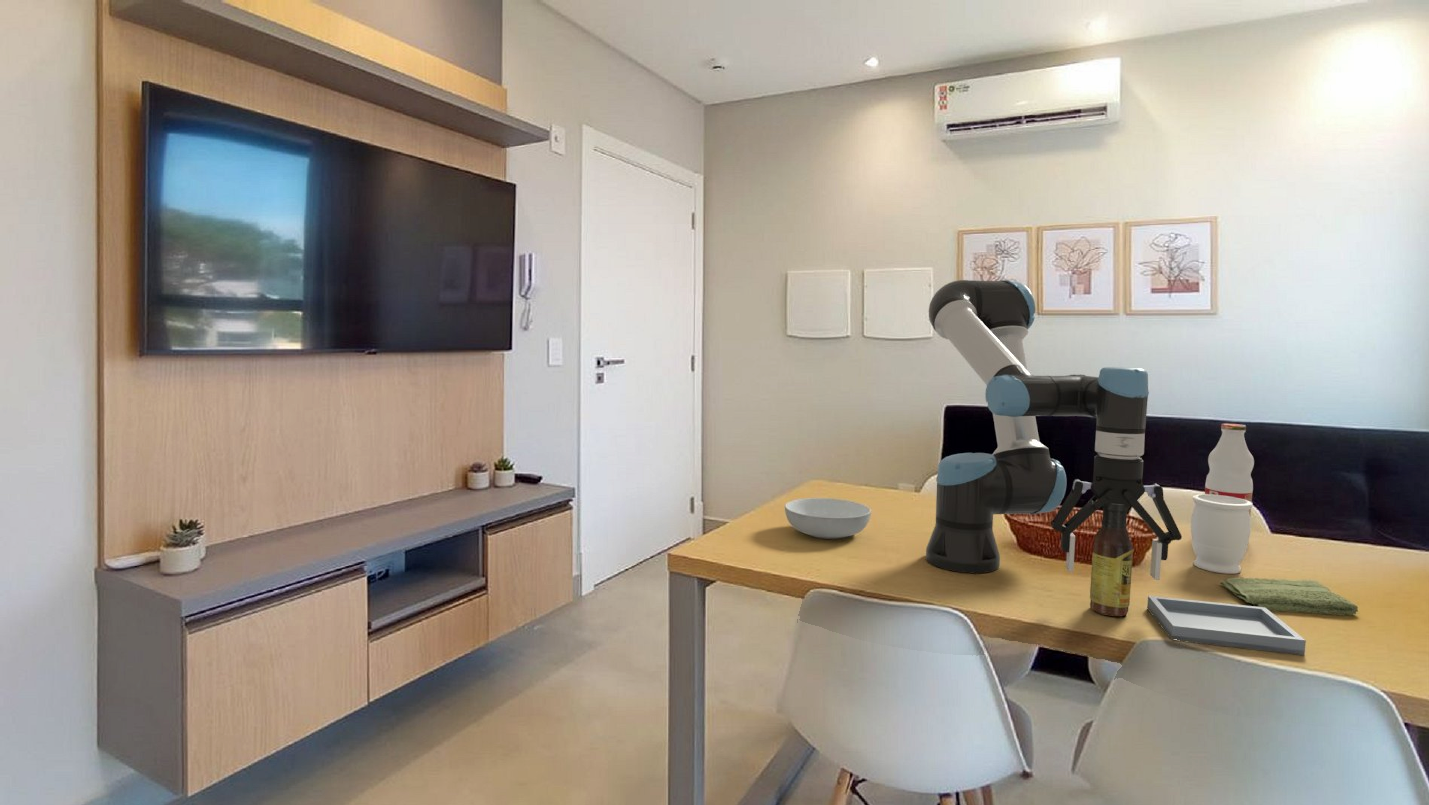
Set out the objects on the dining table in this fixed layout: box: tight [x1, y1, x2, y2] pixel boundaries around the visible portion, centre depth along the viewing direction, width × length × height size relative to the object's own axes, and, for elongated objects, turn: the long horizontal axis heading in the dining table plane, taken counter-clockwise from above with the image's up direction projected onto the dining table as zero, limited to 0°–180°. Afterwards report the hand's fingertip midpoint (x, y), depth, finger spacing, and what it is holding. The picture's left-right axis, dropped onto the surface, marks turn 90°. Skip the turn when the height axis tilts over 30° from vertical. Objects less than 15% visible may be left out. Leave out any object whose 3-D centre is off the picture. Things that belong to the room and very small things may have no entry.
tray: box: [1146, 595, 1307, 656], centre depth 120 cm, size 18×14×2 cm
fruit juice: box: [1204, 423, 1255, 517], centre depth 175 cm, size 9×9×28 cm
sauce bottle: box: [1089, 504, 1134, 617], centre depth 127 cm, size 7×6×20 cm
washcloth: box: [1220, 577, 1359, 617], centre depth 134 cm, size 13×18×3 cm
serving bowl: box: [784, 497, 872, 540], centre depth 176 cm, size 21×21×7 cm
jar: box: [1190, 493, 1253, 575], centre depth 152 cm, size 11×10×15 cm
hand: (1111, 573), depth 127 cm, fingers open, 13 cm apart
